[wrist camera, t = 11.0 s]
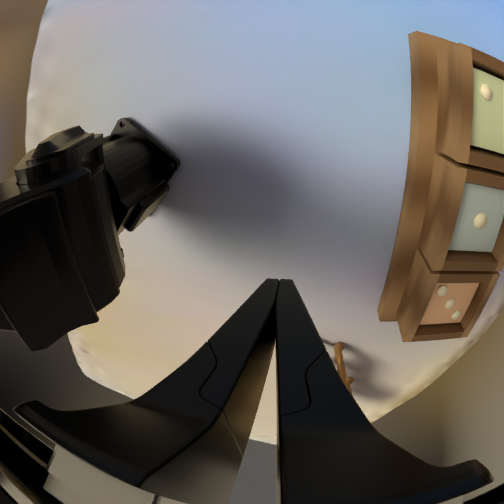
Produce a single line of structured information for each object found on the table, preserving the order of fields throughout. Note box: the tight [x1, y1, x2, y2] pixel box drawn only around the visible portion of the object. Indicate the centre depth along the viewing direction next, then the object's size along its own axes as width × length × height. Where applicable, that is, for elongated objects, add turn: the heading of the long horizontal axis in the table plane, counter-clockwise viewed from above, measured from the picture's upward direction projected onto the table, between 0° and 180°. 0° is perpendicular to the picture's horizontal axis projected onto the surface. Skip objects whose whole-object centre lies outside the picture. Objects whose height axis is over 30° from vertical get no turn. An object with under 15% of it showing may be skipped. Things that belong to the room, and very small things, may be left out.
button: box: [448, 182, 504, 252], centre depth 14 cm, size 5×5×2 cm
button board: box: [377, 31, 504, 342], centre depth 15 cm, size 24×10×5 cm, turn 4°
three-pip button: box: [419, 283, 479, 325], centre depth 18 cm, size 5×5×2 cm
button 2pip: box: [471, 68, 504, 154], centre depth 10 cm, size 5×5×2 cm
